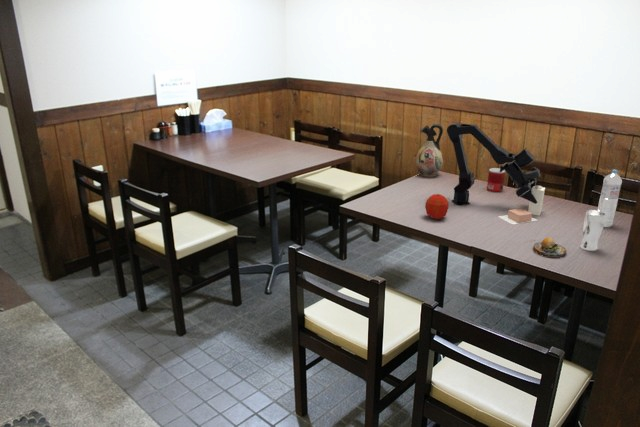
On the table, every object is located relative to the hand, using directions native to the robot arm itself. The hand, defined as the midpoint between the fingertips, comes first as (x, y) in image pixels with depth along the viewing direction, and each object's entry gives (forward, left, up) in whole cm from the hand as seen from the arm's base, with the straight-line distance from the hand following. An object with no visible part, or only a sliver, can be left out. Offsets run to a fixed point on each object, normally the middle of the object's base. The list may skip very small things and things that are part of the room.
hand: (538, 200), depth 233 cm
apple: (-44, +13, -8) cm, 47 cm away
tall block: (0, 0, -7) cm, 8 cm away
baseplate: (-12, -3, -7) cm, 15 cm away
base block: (-12, -4, -6) cm, 14 cm away
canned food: (+6, +36, -8) cm, 38 cm away
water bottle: (+20, -20, -8) cm, 29 cm away
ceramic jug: (-12, +71, -8) cm, 73 cm away
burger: (-22, -33, -8) cm, 40 cm away
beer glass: (-5, -36, -8) cm, 37 cm away
